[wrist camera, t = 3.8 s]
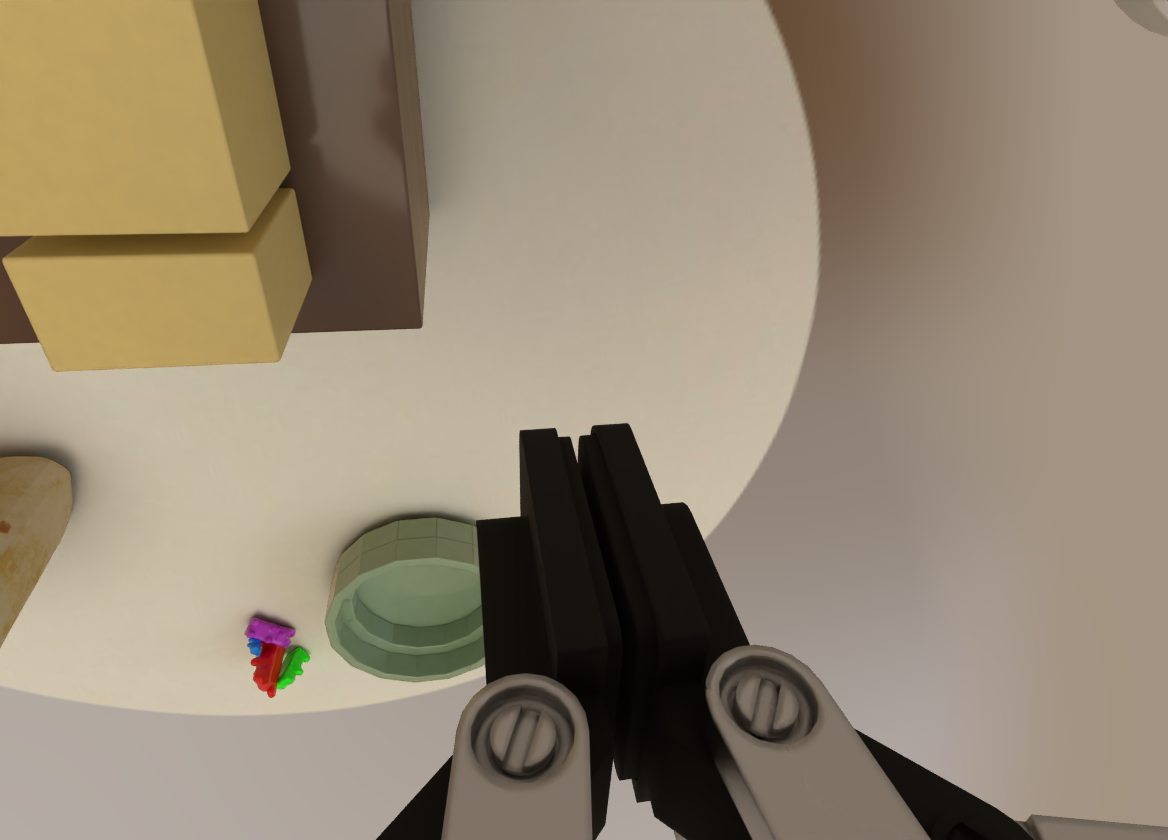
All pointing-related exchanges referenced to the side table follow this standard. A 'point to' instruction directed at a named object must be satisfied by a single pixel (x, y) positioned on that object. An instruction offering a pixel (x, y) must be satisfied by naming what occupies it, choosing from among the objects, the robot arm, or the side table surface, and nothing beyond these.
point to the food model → (28, 527)
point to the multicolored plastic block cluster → (273, 655)
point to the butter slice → (166, 294)
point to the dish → (409, 601)
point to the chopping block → (338, 164)
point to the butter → (136, 117)
